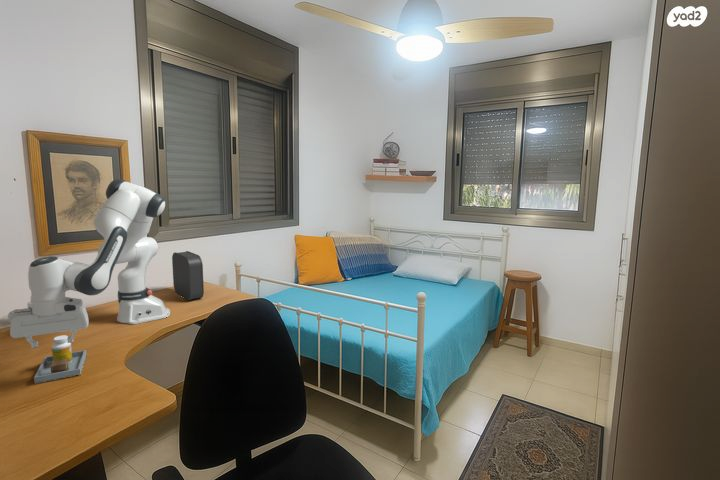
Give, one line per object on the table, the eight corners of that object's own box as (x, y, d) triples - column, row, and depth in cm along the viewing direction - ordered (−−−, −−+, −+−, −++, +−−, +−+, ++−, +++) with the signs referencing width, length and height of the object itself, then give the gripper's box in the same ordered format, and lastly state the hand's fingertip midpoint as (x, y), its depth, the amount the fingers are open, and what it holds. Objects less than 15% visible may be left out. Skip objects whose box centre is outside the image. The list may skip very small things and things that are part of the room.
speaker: (173, 292, 218) (171, 251, 214) (188, 289, 224) (186, 249, 220) (191, 302, 201) (189, 258, 197) (206, 299, 207) (204, 256, 203)
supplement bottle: (51, 367, 130) (48, 341, 128) (55, 361, 134) (52, 335, 133) (70, 364, 132) (68, 339, 131) (74, 358, 137) (71, 333, 135)
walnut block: (68, 369, 129) (67, 358, 128) (66, 374, 125) (65, 363, 125) (54, 372, 127) (52, 361, 126) (51, 377, 123) (50, 366, 123)
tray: (86, 355, 140) (85, 349, 139) (80, 375, 126) (79, 369, 126) (45, 362, 134) (45, 356, 133) (34, 384, 120) (34, 377, 120)
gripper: (3, 313, 114) (9, 355, 117) (85, 304, 125) (88, 342, 127) (10, 307, 119) (14, 346, 122) (87, 299, 130) (90, 335, 132)
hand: (53, 344), depth 125 cm, fingers open, 8 cm apart
